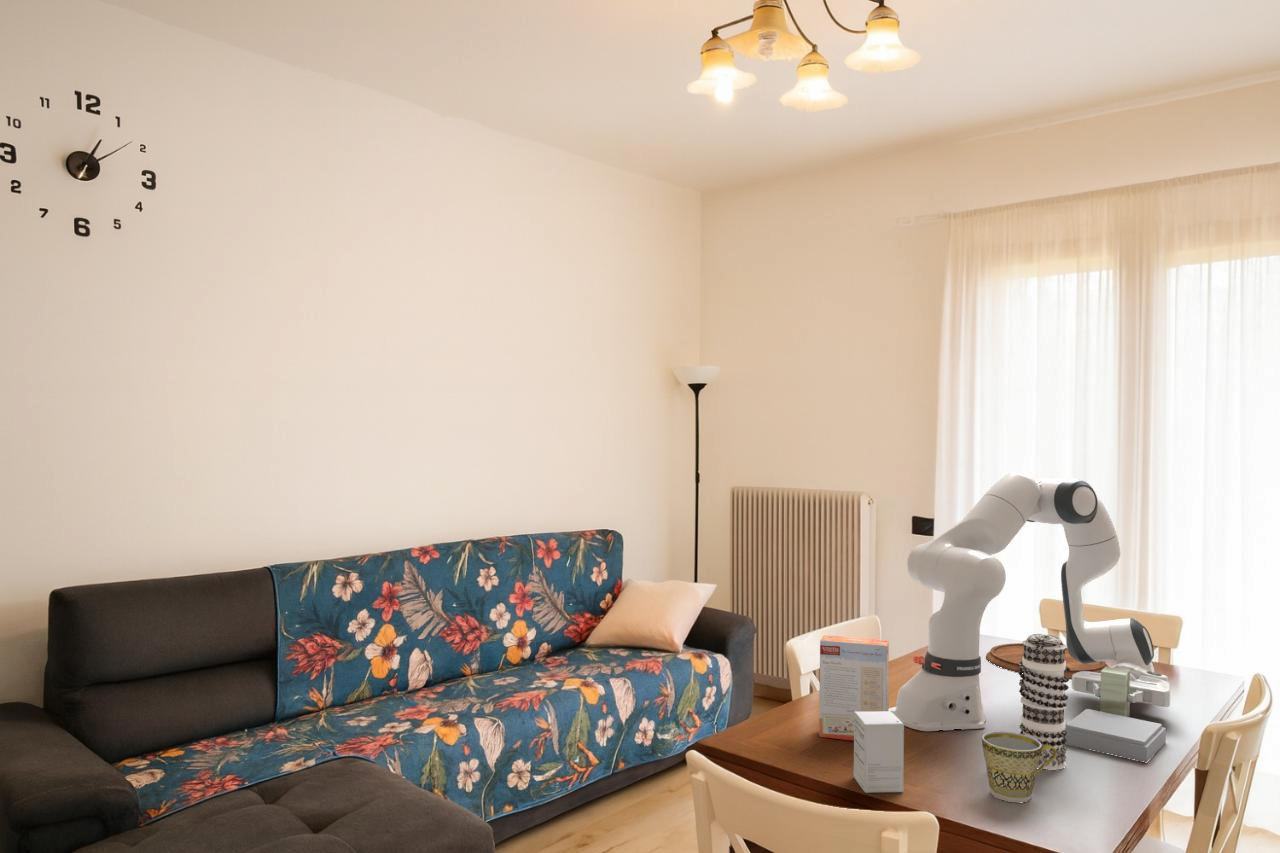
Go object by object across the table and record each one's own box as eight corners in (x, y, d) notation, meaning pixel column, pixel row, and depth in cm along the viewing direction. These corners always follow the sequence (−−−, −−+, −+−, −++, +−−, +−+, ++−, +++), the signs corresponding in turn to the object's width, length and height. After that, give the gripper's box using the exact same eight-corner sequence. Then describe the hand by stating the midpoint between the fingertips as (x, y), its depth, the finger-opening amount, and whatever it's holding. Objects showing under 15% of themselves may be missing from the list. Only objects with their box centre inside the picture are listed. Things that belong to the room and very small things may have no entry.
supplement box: (891, 777, 169) (892, 710, 169) (904, 793, 161) (905, 723, 161) (852, 777, 168) (853, 710, 168) (863, 793, 161) (864, 723, 161)
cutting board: (961, 657, 260) (961, 648, 260) (1040, 646, 274) (1040, 638, 274) (1054, 686, 231) (1054, 676, 231) (1136, 673, 245) (1136, 664, 245)
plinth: (1146, 763, 177) (1147, 743, 177) (1061, 743, 188) (1061, 724, 188) (1165, 743, 189) (1165, 724, 189) (1084, 725, 200) (1084, 707, 200)
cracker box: (888, 736, 191) (889, 639, 191) (886, 746, 185) (887, 645, 185) (822, 728, 195) (823, 633, 195) (818, 737, 190) (819, 639, 190)
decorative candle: (1024, 750, 184) (1026, 629, 184) (1073, 761, 178) (1075, 636, 178) (1011, 763, 176) (1012, 636, 176) (1061, 775, 171) (1062, 644, 171)
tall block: (1125, 729, 197) (1125, 675, 197) (1100, 724, 200) (1100, 671, 200) (1129, 723, 201) (1129, 670, 201) (1104, 718, 204) (1105, 666, 204)
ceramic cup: (992, 807, 156) (993, 749, 156) (973, 784, 166) (973, 730, 166) (1068, 809, 155) (1068, 751, 155) (1043, 786, 165) (1044, 732, 165)
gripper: (1078, 661, 218) (1064, 673, 207) (1175, 677, 205) (1166, 690, 194) (1077, 687, 217) (1064, 700, 207) (1174, 704, 205) (1165, 719, 194)
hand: (1114, 696), depth 200 cm, fingers closed on tall block, 5 cm apart
